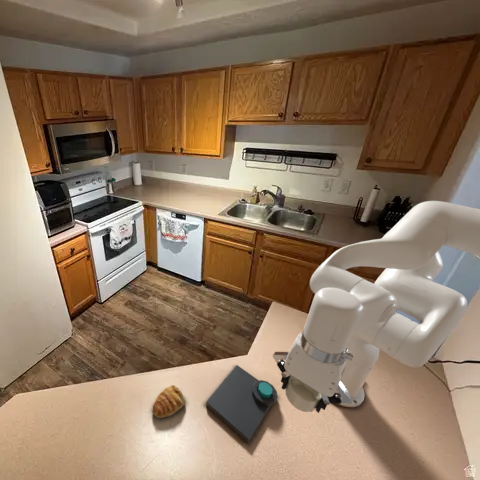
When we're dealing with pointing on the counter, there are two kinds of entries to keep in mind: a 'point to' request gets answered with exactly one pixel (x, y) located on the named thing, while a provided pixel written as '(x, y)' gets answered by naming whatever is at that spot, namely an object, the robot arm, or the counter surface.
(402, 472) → the counter surface
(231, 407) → the dark grey flat block
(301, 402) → the bowl
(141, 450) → the counter surface
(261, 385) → the button
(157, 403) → the pastry
